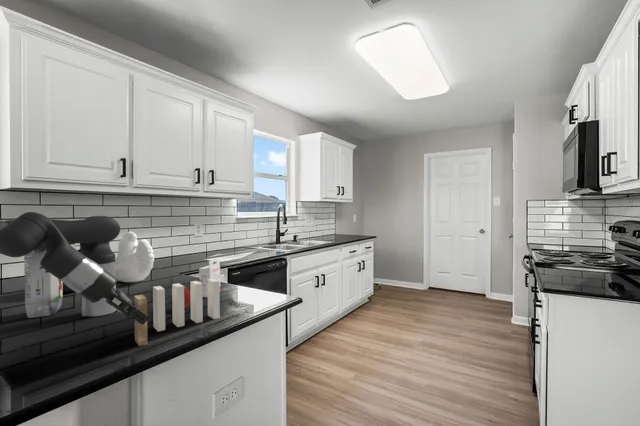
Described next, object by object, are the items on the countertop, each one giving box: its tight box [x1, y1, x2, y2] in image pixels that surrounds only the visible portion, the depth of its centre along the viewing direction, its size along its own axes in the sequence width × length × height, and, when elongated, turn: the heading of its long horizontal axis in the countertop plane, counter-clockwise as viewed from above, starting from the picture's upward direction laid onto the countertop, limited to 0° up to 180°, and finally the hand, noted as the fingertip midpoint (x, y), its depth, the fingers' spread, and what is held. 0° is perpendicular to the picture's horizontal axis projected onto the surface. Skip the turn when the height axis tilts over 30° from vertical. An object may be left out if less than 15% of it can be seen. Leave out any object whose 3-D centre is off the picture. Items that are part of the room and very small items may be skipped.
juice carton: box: [23, 249, 64, 319], centre depth 114 cm, size 9×10×27 cm
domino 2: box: [171, 282, 185, 328], centre depth 102 cm, size 2×5×12 cm, turn 39°
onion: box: [183, 285, 191, 310], centre depth 119 cm, size 6×6×8 cm
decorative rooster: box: [115, 231, 155, 283], centre depth 164 cm, size 25×16×25 cm, turn 49°
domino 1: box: [152, 285, 166, 332], centre depth 99 cm, size 2×5×12 cm, turn 39°
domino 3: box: [189, 280, 204, 324], centre depth 105 cm, size 2×5×12 cm, turn 39°
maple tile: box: [133, 294, 148, 347], centre depth 88 cm, size 2×5×12 cm, turn 39°
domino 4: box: [207, 279, 221, 320], centre depth 109 cm, size 2×5×12 cm, turn 39°
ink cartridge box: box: [198, 258, 221, 298], centre depth 138 cm, size 9×5×15 cm, turn 168°
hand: (142, 317), depth 88 cm, fingers open, 8 cm apart
